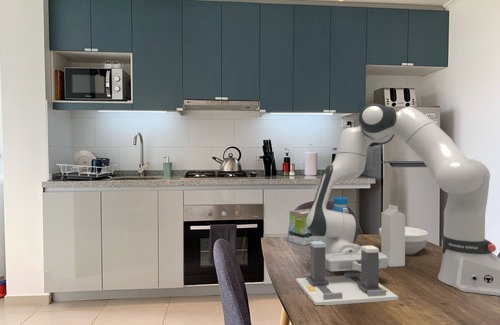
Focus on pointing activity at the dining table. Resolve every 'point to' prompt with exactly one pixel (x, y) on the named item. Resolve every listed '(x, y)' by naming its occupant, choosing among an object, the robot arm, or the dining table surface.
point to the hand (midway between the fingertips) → (366, 269)
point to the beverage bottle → (340, 204)
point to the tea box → (300, 228)
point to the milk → (393, 236)
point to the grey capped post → (317, 263)
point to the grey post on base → (369, 268)
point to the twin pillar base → (343, 291)
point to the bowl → (413, 239)
